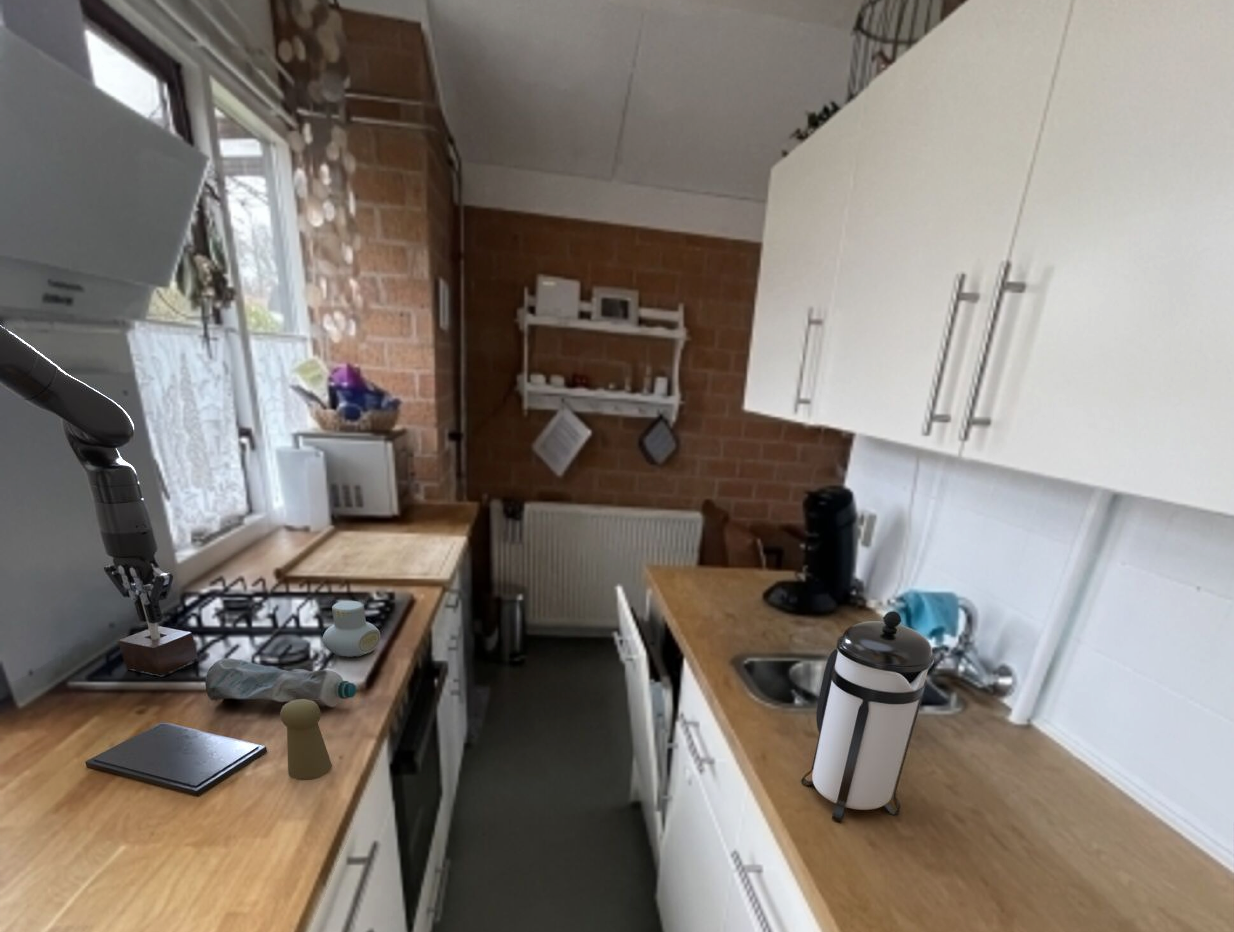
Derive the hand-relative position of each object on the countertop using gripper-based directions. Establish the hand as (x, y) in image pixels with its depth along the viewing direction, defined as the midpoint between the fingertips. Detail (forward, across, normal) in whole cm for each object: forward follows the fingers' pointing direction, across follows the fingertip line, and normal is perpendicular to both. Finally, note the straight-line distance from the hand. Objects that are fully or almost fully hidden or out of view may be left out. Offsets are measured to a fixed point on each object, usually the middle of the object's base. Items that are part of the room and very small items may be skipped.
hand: (151, 620), depth 128 cm
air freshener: (+9, +27, +20) cm, 35 cm away
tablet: (+9, +29, -24) cm, 39 cm away
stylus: (+9, 0, 0) cm, 9 cm away
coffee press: (+9, +125, +5) cm, 126 cm away
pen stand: (+9, 0, 0) cm, 9 cm away
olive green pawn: (+9, +48, -19) cm, 52 cm away
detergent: (+9, +30, -3) cm, 32 cm away
